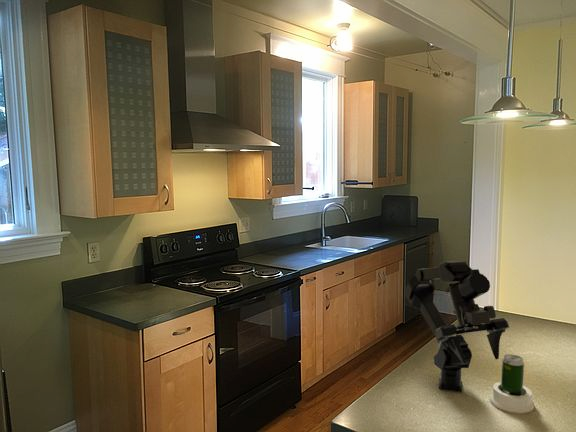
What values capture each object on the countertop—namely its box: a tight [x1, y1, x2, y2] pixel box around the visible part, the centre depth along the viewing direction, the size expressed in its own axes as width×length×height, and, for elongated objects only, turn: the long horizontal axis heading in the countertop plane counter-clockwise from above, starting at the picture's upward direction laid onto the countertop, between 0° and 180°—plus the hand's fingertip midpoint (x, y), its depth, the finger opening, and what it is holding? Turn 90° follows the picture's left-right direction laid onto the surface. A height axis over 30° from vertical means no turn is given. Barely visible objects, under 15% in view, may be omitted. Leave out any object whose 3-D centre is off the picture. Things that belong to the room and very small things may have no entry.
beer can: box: [500, 353, 525, 396], centre depth 130 cm, size 5×5×12 cm
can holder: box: [489, 381, 535, 415], centre depth 131 cm, size 11×11×4 cm
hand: (480, 361), depth 127 cm, fingers open, 9 cm apart
